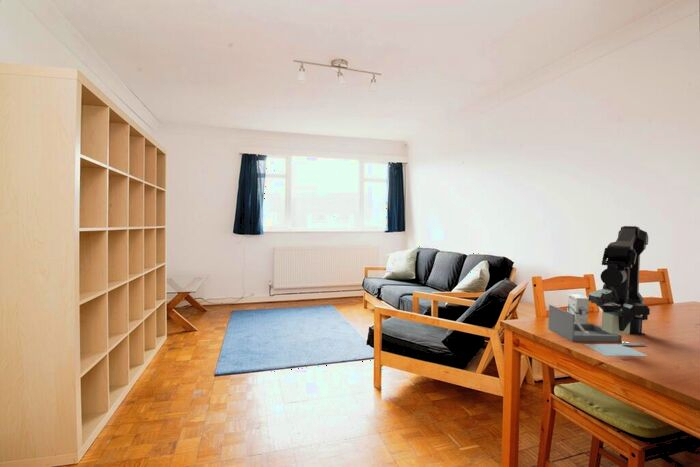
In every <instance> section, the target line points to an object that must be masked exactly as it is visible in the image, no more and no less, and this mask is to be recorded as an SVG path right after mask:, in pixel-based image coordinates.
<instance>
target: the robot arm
mask: <svg viewBox="0 0 700 467" xmlns="http://www.w3.org/2000/svg"><path fill="white" fill-rule="evenodd" d="M647 246H649V235H648V232H647V231H645V230H643V229H640V227H639V226H636V225H634V226H633V225H623V226H620V230H618V234H617V239H616V241H613V242H610V243H609V244H608V245H607V246H606V247H605V248H604V250H603V256H602V261H601V266H606V268H605V269H604V270H603V271H601V273H600V281H602V283H603V286H602V289H597V290H594V291H591V292H589V293H588V298H589V302H591V304H595V305H596V306H598V307H599V308H600V309H601V310H602V312H616V313H617V314H618V315H619V330H620V331H624V330H625V328H626V327H627V326H628V324H629V323H630V334H629V335H638V336H646V333H644V332H643V321H647V320H648V319H649V318H648V317H649V316H650V313H651V312H650V310H651V308H650V307H649V305H646V304H644V302H645V299H644V297H643V296H642V295H641V293H640V291H639V290H640V268H641V266H640V265H641V260H640V259H641V254H642V253H643V252H644V251H645V249H646V248H647Z"/></svg>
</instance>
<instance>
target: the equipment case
mask: <svg viewBox="0 0 700 467" xmlns="http://www.w3.org/2000/svg"><path fill="white" fill-rule="evenodd" d="M574 321H575V323H576V324H574ZM547 323H548V330H550V331H552V332H554V333H556V334H558V335H559V336H561V337H563V338H565V339H567V340H569V341H570V342H613V343H614V342H617V343H618V342H620V343H621V342H622V334H611V333H608V332H606V331H604V330H602V326H599V325H596V324H594V323H587V324H580V323H579V322H578V321H577V320H576V318H575V315H574V314H572V313H569V312H567V310H564V309H562V308H560V307H557V306H554V305H552V304H549V306H548V322H547Z"/></svg>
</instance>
